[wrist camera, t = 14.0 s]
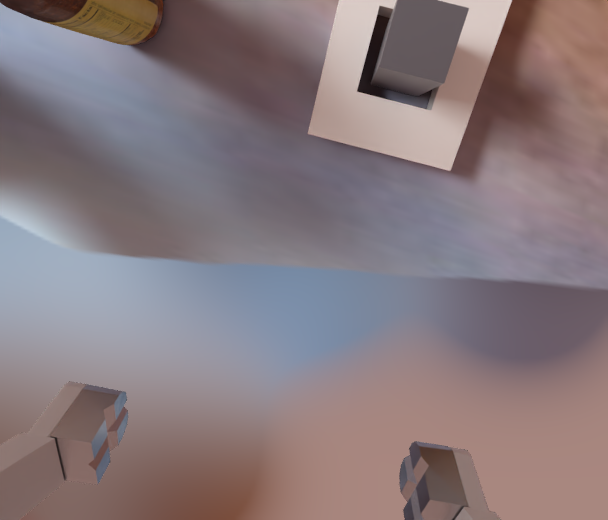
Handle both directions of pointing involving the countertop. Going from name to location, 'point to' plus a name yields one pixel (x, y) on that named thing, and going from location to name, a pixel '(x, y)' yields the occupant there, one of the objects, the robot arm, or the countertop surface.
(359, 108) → the socket
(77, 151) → the countertop surface
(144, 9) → the sauce bottle
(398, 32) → the plug
